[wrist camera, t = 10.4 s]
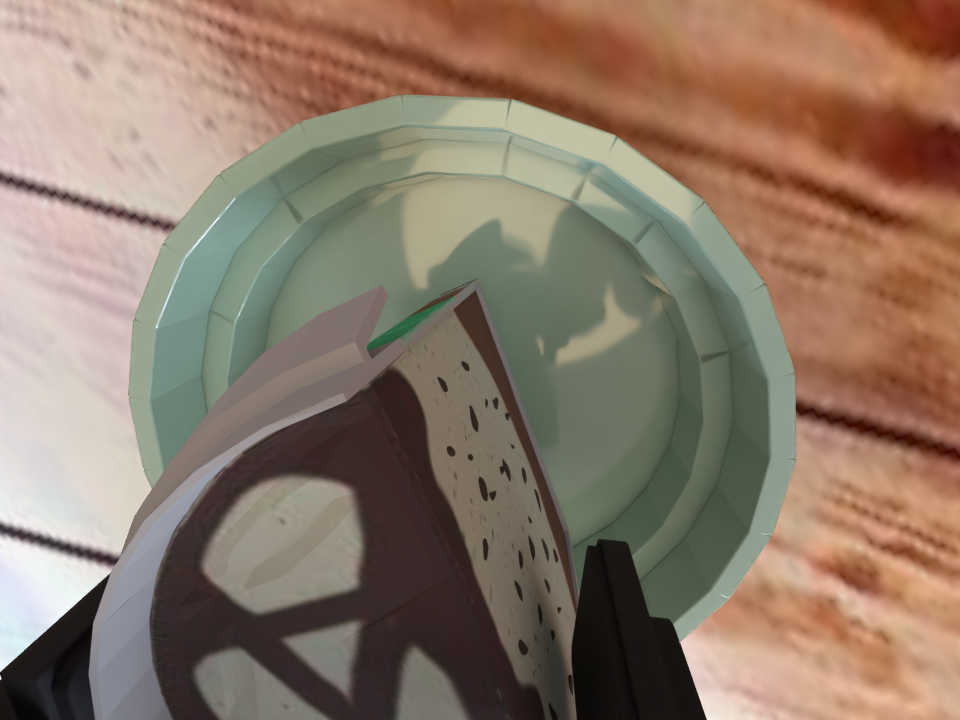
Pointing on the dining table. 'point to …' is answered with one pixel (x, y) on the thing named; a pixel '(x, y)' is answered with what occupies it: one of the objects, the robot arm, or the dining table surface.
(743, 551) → the bowl
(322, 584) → the food container
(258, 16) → the dining table surface
